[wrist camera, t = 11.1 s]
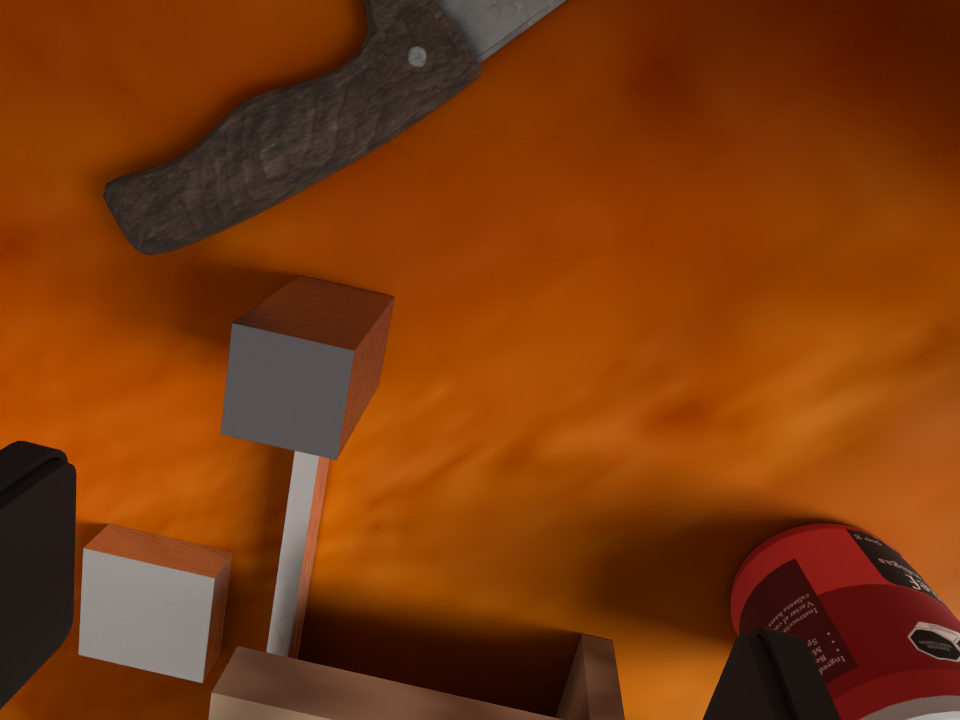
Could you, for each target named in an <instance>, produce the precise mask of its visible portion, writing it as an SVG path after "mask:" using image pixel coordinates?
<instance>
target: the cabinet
mask: <svg viewBox="0 0 960 720" xmlns="http://www.w3.org/2000/svg"><path fill="white" fill-rule="evenodd" d="M208 720H625V718H624V711H623V705H622V698H621V692H620V685H619V679H618V672H617V666H616V659H615V653H614V646H613V641H610V640H606V639H602V638H597V637H593V636H588V635H584V634H582V635H581V638H580V641H579V644H578V647H577V650H576V654H575V657H574V660H573V663H572V666H571V669H570V672H569V675H568V678H567V682H566V685H565V688H564V691H563V694H562V697H561V700H560V703H559V706H558V710H557V713H556V716H555V718H554V717H549V716H545V715H540V714H536V713H532V712H527V711H523V710H518V709H514V708H509V707H505V706H501V705H496V704H492V703H487V702H483V701H479V700H474V699H470V698H465V697H461V696H457V695H452V694H448V693H443V692H439V691H435V690H430V689H426V688H421V687H417V686H413V685H408V684H404V683H399V682H395V681H390V680H386V679H382V678H377V677H373V676H368V675H364V674H360V673H355V672H351V671H346V670H342V669H338V668H333V667H329V666H324V665H320V664H316V663H311V662H307V661H302V660H298V659H294V658H289V657H285V656H280V655H276V654H271V653H267V652H263V651H258V650H254V649H249V648H245V647H241V646H237V648H236V650H235V651H234V653H233V655H232V657H231V659H230V660H229V662H228V664H227V666H226V667H225V669H224V671H223V673H222V675H221V676H220V678H219V680H218V682H217V684H216V685H215V687H214V689H213V691H212V693H211V701H210V709H209V718H208Z"/></svg>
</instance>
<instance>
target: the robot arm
mask: <svg viewBox="0 0 960 720" xmlns="http://www.w3.org/2000/svg"><path fill="white" fill-rule="evenodd" d="M75 516H76V469H75V467H74V466H73V465H72V464H70V463H68V460H67V457H66V455H65V453H64V452H62V451H61V450H58V449H54V448H50V447H46V446H42V445H38V444H34V443H30V442H26V441H17V442H14V443H12V444H10V445H8V446H7V447H5V448H3V449H2V450H0V709H1V708H2V707H3V706H4V705H5V704H6V703H7V702H8V701H9V700H10V699H11V698H12V697H13V696H14V694H15V693H16V692H17V691H18V690H19V689H20V688H21V687H22V686H23V685H24V684H25V683H26V682H27V681H28V680H29V679H30V678H31V676H32V675H33V674H34V673H35V672H36V671H37V670H38V669H39V668H40V667H41V666H42V665H43V664H44V663H45V662H46V661H47V660H48V659H49V657H50V656H51V655H52V654H53V653H54V652H55V651H56V650H57V649H58V648H59V647H60V646H61V644H62V643H63V642H64V640H65V639H66V637H67V635H68V633H69V631H70V629H71V626H72V622H73V609H74V563H75ZM703 720H841V718H840V716H839V713H838V711H837V709H836V707H835V704H834V702H833V700H832V698H831V695H830V693H829V691H828V689H827V686H826V684H825V682H824V680H823V678H822V675H821V673H820V671H819V669H818V666H817V664H816V662H815V660H814V657H813V655H812V653H811V651H810V648H809V646H808V644H807V642H806V641H805V639H804V638H802V637H800V636H798V635H794V634H790V633H786V632H782V631H778V630H774V629H770V628H766V627H762V626H759V627H756V628H755V629H754V630H753V631H752V633H751V634H750V635H748V634H744V633H743V634H740V635H739V636H738V637H737V639H736V641H735V643H734V646H733V648H732V650H731V653H730V655H729V658H728V660H727V662H726V665H725V667H724V670H723V672H722V674H721V677H720V679H719V682H718V684H717V686H716V689H715V691H714V694H713V696H712V698H711V701H710V703H709V706H708V708H707V710H706V713H705V715H704V718H703Z"/></svg>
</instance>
